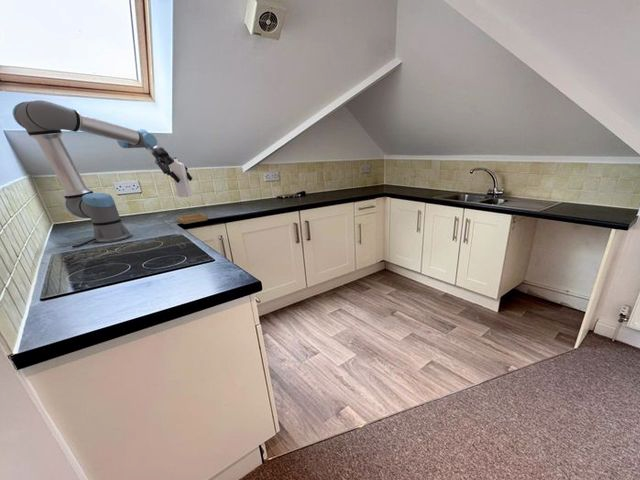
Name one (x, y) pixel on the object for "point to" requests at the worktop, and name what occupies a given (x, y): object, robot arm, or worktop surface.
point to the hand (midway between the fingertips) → (185, 180)
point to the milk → (181, 179)
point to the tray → (192, 218)
